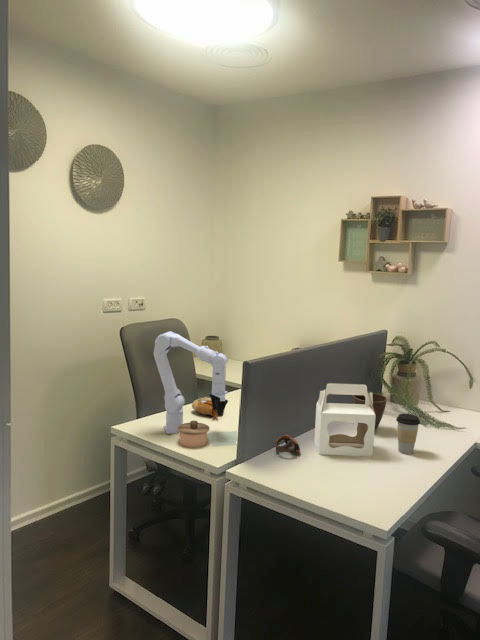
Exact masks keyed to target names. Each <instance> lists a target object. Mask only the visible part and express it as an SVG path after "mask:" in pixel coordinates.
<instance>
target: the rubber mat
mask: <svg viewBox="0 0 480 640" xmlns="http://www.w3.org/2000/svg"><path fill="white" fill-rule="evenodd" d="M237 431H238V430H233V431H230V430H229V431H221V432H220V431H219V432H207V440H209V442H210V444H211V445H212V447H224V446H235V445H237V444H236V441H237Z"/></svg>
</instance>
